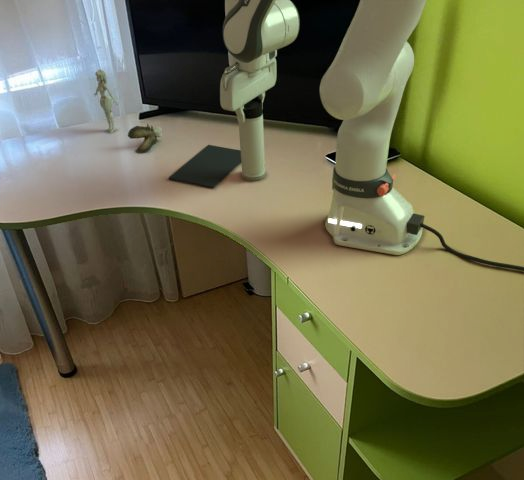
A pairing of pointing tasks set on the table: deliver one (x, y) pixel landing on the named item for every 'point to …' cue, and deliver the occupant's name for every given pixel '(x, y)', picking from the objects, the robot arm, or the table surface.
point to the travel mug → (252, 141)
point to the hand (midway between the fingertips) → (250, 116)
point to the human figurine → (105, 98)
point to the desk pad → (208, 166)
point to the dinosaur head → (145, 136)
